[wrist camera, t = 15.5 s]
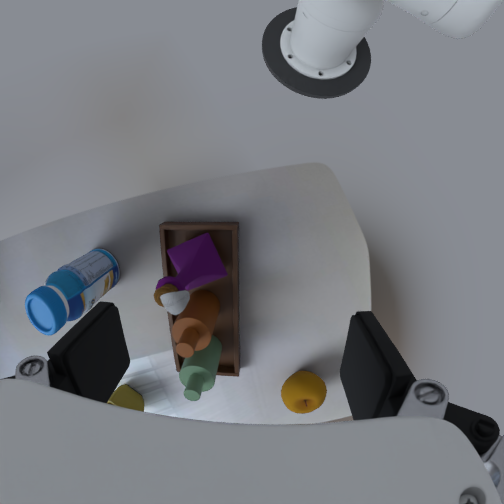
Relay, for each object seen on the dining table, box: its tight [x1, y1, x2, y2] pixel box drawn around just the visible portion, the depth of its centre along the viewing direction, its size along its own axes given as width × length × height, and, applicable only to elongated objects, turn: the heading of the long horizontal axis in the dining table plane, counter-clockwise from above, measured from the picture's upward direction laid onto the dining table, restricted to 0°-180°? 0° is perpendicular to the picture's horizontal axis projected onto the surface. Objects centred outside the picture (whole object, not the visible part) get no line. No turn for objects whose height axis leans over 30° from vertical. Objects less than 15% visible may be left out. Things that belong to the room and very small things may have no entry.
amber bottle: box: [172, 290, 220, 358], centre depth 43 cm, size 6×6×14 cm
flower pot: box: [107, 384, 144, 412], centre depth 55 cm, size 9×9×9 cm
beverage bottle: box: [25, 249, 120, 335], centre depth 40 cm, size 8×8×20 cm
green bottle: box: [179, 335, 222, 401], centre depth 46 cm, size 6×6×14 cm
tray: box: [159, 222, 240, 376], centre depth 49 cm, size 30×13×2 cm, turn 179°
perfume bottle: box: [154, 233, 228, 315], centre depth 39 cm, size 8×8×18 cm
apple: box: [281, 371, 327, 414], centre depth 50 cm, size 9×9×9 cm
